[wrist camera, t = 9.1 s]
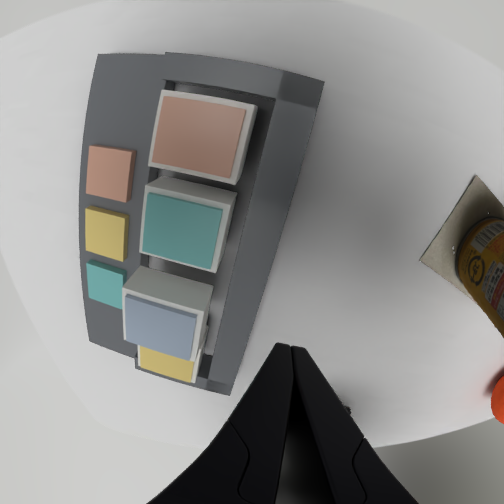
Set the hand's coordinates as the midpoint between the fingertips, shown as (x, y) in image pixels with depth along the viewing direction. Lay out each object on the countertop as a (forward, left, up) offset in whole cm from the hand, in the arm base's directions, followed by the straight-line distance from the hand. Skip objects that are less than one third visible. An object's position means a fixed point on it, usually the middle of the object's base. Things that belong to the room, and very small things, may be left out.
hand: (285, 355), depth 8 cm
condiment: (+3, -15, -11) cm, 19 cm away
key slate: (-5, +5, -9) cm, 12 cm away
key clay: (+4, +5, -11) cm, 13 cm away
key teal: (0, +5, -11) cm, 12 cm away
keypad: (-3, +6, -11) cm, 13 cm away
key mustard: (-10, +5, -11) cm, 16 cm away
